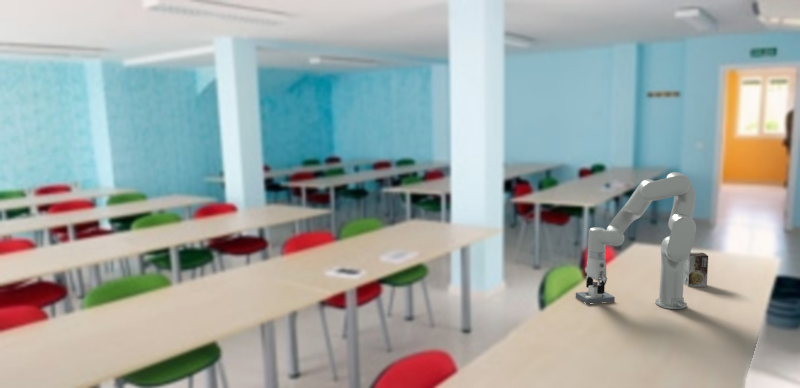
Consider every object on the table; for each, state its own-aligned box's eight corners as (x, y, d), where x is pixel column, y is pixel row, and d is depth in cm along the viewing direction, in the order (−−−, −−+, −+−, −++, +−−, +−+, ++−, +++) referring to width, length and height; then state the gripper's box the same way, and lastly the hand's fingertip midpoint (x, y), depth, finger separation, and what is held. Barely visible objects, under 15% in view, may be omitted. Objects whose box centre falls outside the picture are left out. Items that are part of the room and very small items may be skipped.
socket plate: (614, 302, 261) (614, 295, 261) (586, 304, 259) (586, 298, 258) (602, 295, 271) (602, 289, 271) (575, 297, 268) (575, 291, 268)
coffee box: (701, 283, 288) (703, 252, 285) (707, 287, 281) (709, 255, 279) (682, 283, 289) (684, 252, 286) (687, 286, 282) (689, 255, 280)
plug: (601, 300, 263) (602, 283, 262) (593, 300, 262) (593, 284, 261) (596, 297, 267) (597, 280, 266) (588, 297, 266) (588, 281, 265)
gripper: (614, 258, 254) (612, 295, 257) (593, 249, 271) (592, 284, 273) (599, 259, 253) (597, 296, 255) (579, 250, 269) (578, 285, 272)
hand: (595, 290), depth 264 cm, fingers open, 9 cm apart
